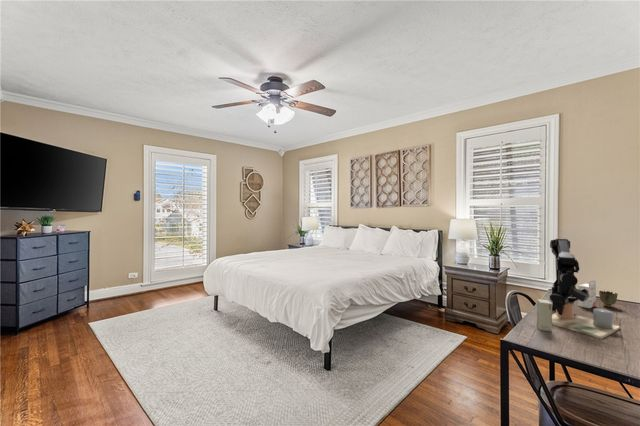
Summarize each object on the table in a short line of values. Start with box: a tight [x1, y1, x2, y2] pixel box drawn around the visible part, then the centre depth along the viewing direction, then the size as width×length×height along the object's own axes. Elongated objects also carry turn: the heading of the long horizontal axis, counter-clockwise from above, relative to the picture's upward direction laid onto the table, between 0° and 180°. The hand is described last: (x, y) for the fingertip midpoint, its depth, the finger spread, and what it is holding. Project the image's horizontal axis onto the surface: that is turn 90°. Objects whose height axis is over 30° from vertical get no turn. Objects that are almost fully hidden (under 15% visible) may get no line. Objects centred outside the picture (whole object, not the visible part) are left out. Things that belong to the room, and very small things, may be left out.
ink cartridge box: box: [577, 279, 597, 309], centre depth 163 cm, size 9×5×15 cm, turn 117°
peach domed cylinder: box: [555, 301, 575, 319], centre depth 144 cm, size 6×6×7 cm
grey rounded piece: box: [592, 307, 614, 329], centre depth 132 cm, size 6×6×7 cm
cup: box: [598, 290, 618, 308], centre depth 163 cm, size 8×7×8 cm
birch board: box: [552, 312, 621, 340], centre depth 136 cm, size 22×22×1 cm
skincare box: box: [536, 298, 553, 332], centre depth 131 cm, size 6×4×12 cm
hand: (564, 313), depth 144 cm, fingers open, 9 cm apart
